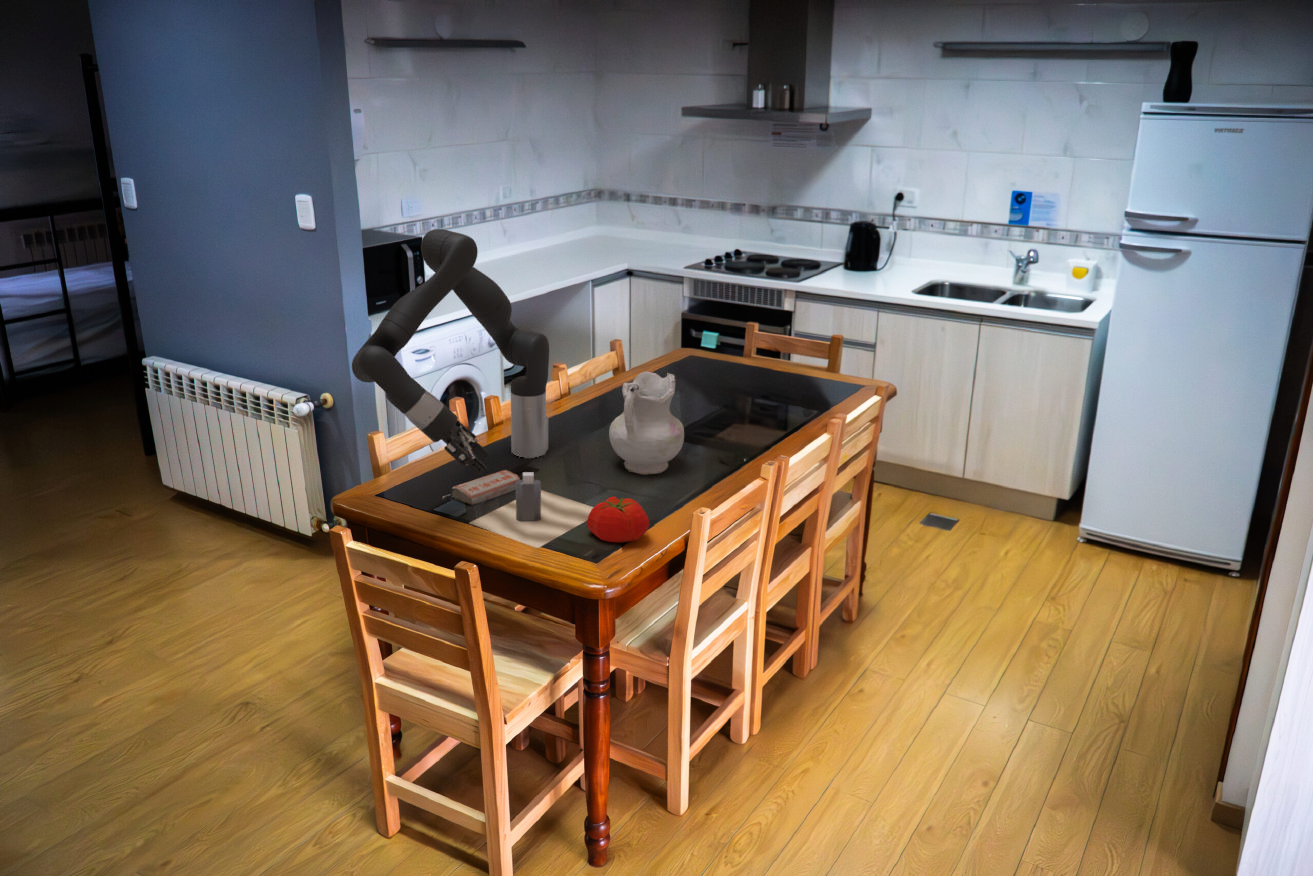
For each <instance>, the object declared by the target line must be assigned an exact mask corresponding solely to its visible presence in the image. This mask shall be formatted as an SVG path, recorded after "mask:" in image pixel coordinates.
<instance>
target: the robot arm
mask: <svg viewBox="0 0 1313 876" xmlns="http://www.w3.org/2000/svg"><path fill="white" fill-rule="evenodd" d="M420 251H421V255H422V256H421V257H422V258H423V260H424V261H423V262H424V263H425V265H426V266H427V267H428V268H429V269H430V270H432V271H433V272H434V274H433V275H432V276H431V277H430V278H428V279H427V280H426V281H425V282H423V283H421V284H420V285H419V286H417V287H415V288H414V289H412V290H410V291H408V292H407V293H406V294H405V295H403V296H401V297H400V298H399V299H398V300H397V301H396V302H395V303H394V304H393V305H392V306H391V308H390V309H389V310H388V312H387V313H386V314H385V316H384V317H383V318H382V320H381V321H380V323H379V325H378V326H377V329H375V331H374V332H373V334H372V335H370V337H369V338H368V339H367V340H366V341H365V342H364V344H363V345H362V346H361V348H359V350H358V351H357V353H356V354H355V355H354V357H353V359H352V361H351V362H352V363H351V371H352V373H353V375H354V377H355V378H356V379H357V380H359V381H360V382H364V383H375V384H376V385H378V387H380V389H381V390H382V391H384V392H385V397H386V399H387V401H388V402H390V404H391V405H393V406H394V407H395V408H396V409H397V410H398V411H400V413H402V414H403V415H404V416H405V417H406V418H407V419H408V421H409V422H411V424H413V426H415V427H416V428H417V429H418V430H419V431H421V433H423V434H424V435H425V436H426V437H427V438H429V439H430V440H431V441H432V442H433V443H437V442H440V440H443V442H445V444H446V446H444V450H445V451H446V452H447V453H448V454H449V455H450V456H451V457H452V458H453V459H454V460H456V461H457V462H458V464H460V465H461V466H462V467H466V466H469V467H470V468H471V469H472V470H473V471H474V472H476V473H477V474H478V475H479V476H483V475H484V473H486V472H487V470H488V467H487V466H486V464H484V462H482V461H484V460H486V459H487V458H488V457H489V456H490V452H488V450H487V449H486V448H485V447H483V445H481V444H480V443H479V442H478V439H476V438H477V435H476V434H475V433H473V432H472V431H471V430H470V429H468V427H466V426H465V425H464V424H463V423H462V422H460V420H458V416H457V415H456V414H455V413H454V412H453V411H452V410H451V409H450V408H448V406H446V405H445V404H444V403H443V401H440V400H439V399H438V398H437V396H435V395H434V394H432V393H430V392H429V391H428V390H426V389H425V388H424V387H423V386H422V385H421V384H420V383H419V382H417V381H416V380H415V379H414V378H413V377H411V376H410V374H409V373H408V371H407V370H406V369H405V368H404V367H403V365H402V364H401V363H400V361H398V360H399V359H397V358H396V356H397V354H398V353H399V352H400V351H401V350H402V349H404V348H405V346H407V345H408V343H409V342H410V341H411V339H412V338H413V337H414V335H415V333H416V332H417V330H418V329H419V328H420V326H421V324H422V323H423V322H424V321H425V319H426V318H427V317H428V315H429V314H430V313H431V312H432V311H433V310H434V309H435V307H437V306H438V304H439V303H441V301H443V299H445V297H446V296H447V295H449V294H450V293H451V292H452V291H453V292H454V293H455V295H456V296H457V298H458V299H459V300H460V301H461V302H462V304H464V305H465V307H466V308H467V309H468V311H469V313H471V315H472V316H473V317H474V318H475V319H476V321H477V322H478V323H479V324H480V325H482V328H484V330H485V331H486V333H488V335H489V336H490V337H491V339H492V341H494V343H495V345H496V346H497V348H498V350H499V351H500V354H501V355H502V357H503V358H504V359H505V360H506V361H507V363H510V364H512V365H515V366H517V367H524V368H526V374H525V375H522V376H518V377H515V378H514V379H512V380H511V382H510V431H511V432H510V433H511V434H510V438H511V439H510V440H511V441H510V444H511V451H510V452H511V454H512V453H513V454H514V455H516V456H519V457H518V458H520V457H524V458H523V459H536V458H535V457H537V458H540V457H539V456H541V457H542V455H543V456H545V455H546V453H547V451H549V417H548V416H547V384H548V380H549V367H550V366H549V364H550V343H549V339H548V337H547V336H546V335H545V334H543V333H540V332H536V331H530V330H524V329H521V328H518V327H517V326H515V325H514V324H513V322H512V321H511V317H512V310H513V309H512V304H511V301H510V299H509V297H508V296H507V294H506V293H505V291H504V290H502V288H501V287H500V286H499V285H498V283H496V282H495V281H494V280H493V279H492V278H490V277H489V276H488V275H486V274H485V273H483V272H482V271H480V270H479V269H478V268H476V267H474V266H475V264H476V262H477V258H478V253H479V252H478V251H479V250H478V247H477V243H476V241H475V240H474V239H473V238H472V237H471V236H469V235H467V234H465V233H460V232H456V231H452V230H448V229H443V228H441V229H440V228H434V229H431V230H429V231H428V232H426V233H425V234H424V236H423V238H422V239H421V243H420ZM513 454H512V455H513ZM514 455H513V456H514ZM516 456H515V457H516ZM479 459H480V460H479ZM481 460H482V461H481Z"/></svg>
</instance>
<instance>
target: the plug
mask: <svg viewBox="0 0 1313 876" xmlns="http://www.w3.org/2000/svg"><path fill="white" fill-rule="evenodd" d="M534 473H535V472H534V471H533V472H527V471H525V472H522V479H520V480H518V481H516V490H515V500H516V520H518V521H522V522H524V521H539V520H540V519H541V490H542V488H541V487H542V481H541V480H539V479H535V476H534Z"/></svg>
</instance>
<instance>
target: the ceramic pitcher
mask: <svg viewBox="0 0 1313 876" xmlns="http://www.w3.org/2000/svg"><path fill="white" fill-rule="evenodd" d="M676 380H677V379H676V375H675V374H672V373H669V372H667V373H666V376H665V377H661V375H659V374H657V373H655V372H652V371H651V372H650V371H646V370H645V371H643V372H640V373H639V374H637V376H636V377H635V378H634V379H633V381H632V382H624V383H622V388H621V391H622V396H623V401H624V403H623V412H622V413H621V414H619V416H618V415H617V417H615V418H614V420H612V422H611V423H610V426H609V430H608V435H609V436H608V437H609V441H610V445H611V446H612V449H613V451H614V452H615V453H616V454H617V456H619V457H620V458H621V459H622V460H624V461H623V466H624V468H625V469H627V471H628V472H630V473H635V474H639V475H643V476H644V475H653V474H662V473H663V472H665V471H666V470H667V469H668V468H669V466H670V465H669V464H670V463H669V462H670V461H672V460H673V459H674V458H675V457H676V456H677V455H678V454H679V452H680V451H681V449H682V448H683V444H684V441H685V440H684V439H685V430H684V429H685V428H684V425H683V422H681V421H680V420H679V418H677V417H676V416H674V415H673V414H672V413H671V411H670V407H671V402H672V399H673V397H674V394H675V390H676Z"/></svg>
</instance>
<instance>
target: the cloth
mask: <svg viewBox="0 0 1313 876" xmlns="http://www.w3.org/2000/svg"><path fill="white" fill-rule="evenodd" d="M594 507H595V506H594ZM594 507H593V506H591V505H588V504H584V503H582V502H578V501H576V500H573V499H570V498H567V497H564V496H560V495H557V494H554V493H553V492H552V493H551V492H548V491H547V490H543V489H541V519H540V520H539V521H524V522H522V521H518V520H516V499H514V500H512V501H510V502H509V503H506V504H504V505H502V506H501V507H498V508H496V509H494V510H493V511H490V512H488V513H486V514H485V515H482V516H480V517H478V518H476V519H474V520H471V521H470V522H468V524H470V525H472V526H476V527H477V528H480V529H484V530H486V531H489V532H492V533H494V534H498V535H500V536H501V537H506V538H508V539H511V540H514V541H516V542H519V543H522V544H524V545H527V546H530V547H533V548H536V549H539V548H541V547H543V546H544V545H547V544H548V543H549V542H551V541H553V540H555V539H557V538H558V537H561V536H563V535H564V534H566V533H568V532H569V531H572V530H573V529H575V528H576V527H578V526H579V525H581V524H583V523H585V522H587V520H588V516H589V513H590V512H591V510H592V509H593V508H594Z"/></svg>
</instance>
